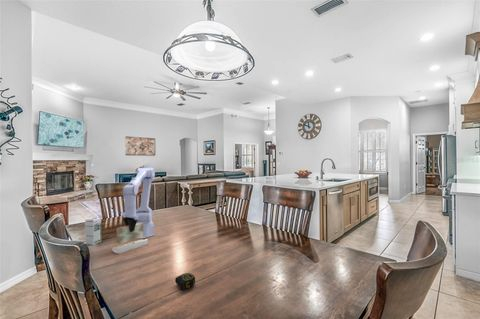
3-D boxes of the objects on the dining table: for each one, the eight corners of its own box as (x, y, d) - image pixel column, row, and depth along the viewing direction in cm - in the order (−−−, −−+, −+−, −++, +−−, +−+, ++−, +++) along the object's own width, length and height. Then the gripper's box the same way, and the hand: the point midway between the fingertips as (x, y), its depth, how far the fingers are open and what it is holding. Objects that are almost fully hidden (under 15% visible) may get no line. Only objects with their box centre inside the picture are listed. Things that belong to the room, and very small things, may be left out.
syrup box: (93, 245, 135) (93, 219, 135) (85, 244, 136) (85, 219, 136) (101, 241, 141) (101, 217, 141) (93, 240, 142) (93, 216, 142)
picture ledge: (141, 242, 140) (141, 236, 140) (148, 244, 136) (148, 238, 136) (111, 251, 126) (111, 244, 126) (118, 254, 122) (118, 247, 122)
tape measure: (174, 284, 93) (174, 275, 93) (191, 279, 96) (191, 270, 96) (180, 293, 87) (180, 283, 87) (197, 287, 91) (197, 277, 91)
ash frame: (140, 236, 137) (140, 222, 137) (143, 237, 136) (143, 223, 136) (116, 243, 126) (116, 228, 126) (118, 244, 125) (118, 229, 125)
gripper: (116, 206, 132) (116, 230, 132) (130, 209, 123) (130, 235, 123) (128, 204, 138) (129, 227, 138) (142, 207, 129) (142, 231, 129)
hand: (130, 230), depth 131 cm, fingers closed on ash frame, 2 cm apart
